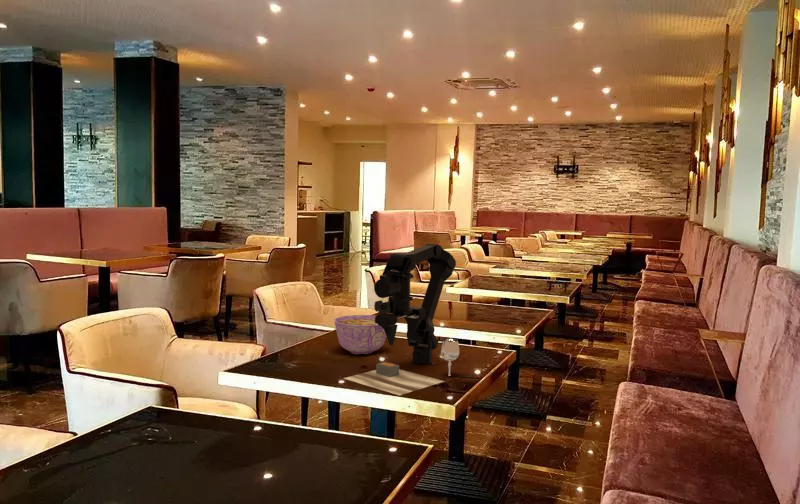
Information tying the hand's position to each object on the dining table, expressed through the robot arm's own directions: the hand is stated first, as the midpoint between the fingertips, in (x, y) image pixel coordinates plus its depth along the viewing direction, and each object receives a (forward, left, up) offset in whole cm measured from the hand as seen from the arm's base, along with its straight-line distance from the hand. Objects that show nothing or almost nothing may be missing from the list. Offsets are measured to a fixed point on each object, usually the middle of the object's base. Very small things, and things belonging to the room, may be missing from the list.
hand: (400, 342), depth 206 cm
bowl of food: (-11, -29, -10) cm, 32 cm away
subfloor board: (+9, +6, -10) cm, 15 cm away
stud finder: (+6, 0, -9) cm, 11 cm away
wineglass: (-7, +14, -10) cm, 19 cm away
